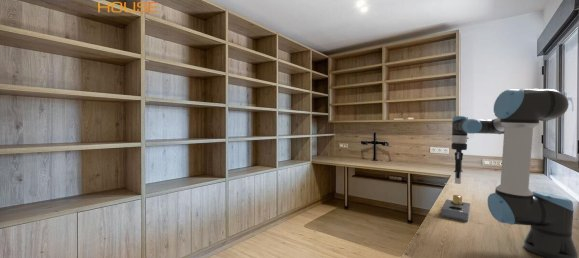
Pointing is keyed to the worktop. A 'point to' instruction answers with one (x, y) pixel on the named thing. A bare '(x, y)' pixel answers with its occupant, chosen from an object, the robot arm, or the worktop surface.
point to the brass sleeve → (457, 200)
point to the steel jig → (455, 210)
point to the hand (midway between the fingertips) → (457, 183)
